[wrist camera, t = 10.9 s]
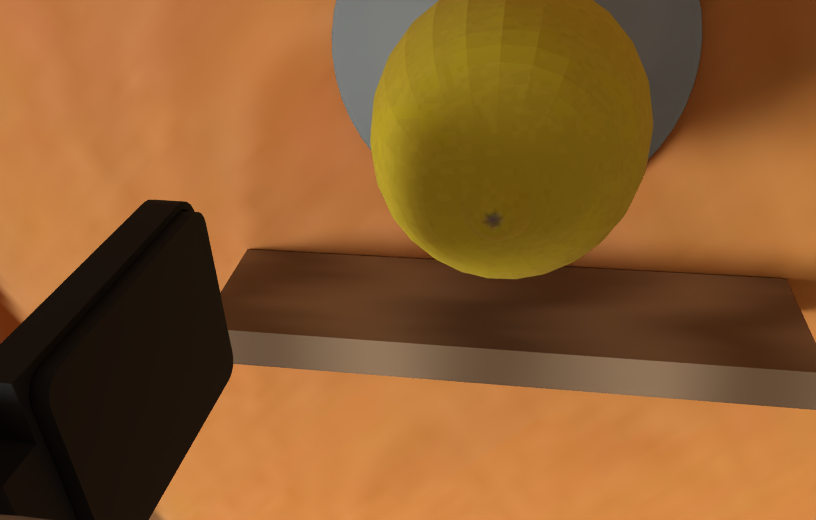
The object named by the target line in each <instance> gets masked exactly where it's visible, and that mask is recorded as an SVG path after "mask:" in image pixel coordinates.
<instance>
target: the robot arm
mask: <svg viewBox="0 0 816 520" xmlns="http://www.w3.org/2000/svg"><path fill="white" fill-rule="evenodd" d="M232 369H233V352H232V347H231V342H230V338H229V333H228V328H227V323H226V318H225V313H224V309H223V304H222V299H221V294H220V289H219V285H218V280H217V275H216V270H215V265H214V261H213V256H212V251H211V246H210V241H209V236H208V232H207V227H206V222H205V219H204V217H203V215H202V214H201V213H199V212H194V209H193V208H192V206H191V205H190V204H189V203H188V202H182V201H166V200H147V201H146V202H144V203H143V204H142V205H141V206H140V207H139V208H138V209H137V210H136V211H135V212H134V213H133V214H132V215H131V216H130V217H129V218H128V219H127V220H126V221H125V222H124V223H123V224H122V225H121V226H120V227H119V228H118V229H117V230H116V231H115V232H114V233H113V234H112V235H111V236H110V237H109V238H108V239H107V240H106V241H104V242H103V243H102V244H101V245H100V246H99V247H98V248H97V249H96V250H95V251H94V252H93V253H92V254H91V255H90V256H89V257H88V258H87V259H86V260H85V261H84V262H83V263H82V264H81V265H80V266H79V267H78V268H77V269H76V270H75V271H74V272H73V273H72V274H71V275H70V276H69V277H68V278H67V279H66V280H65V281H64V282H63V283H62V284H61V285H60V286H59V287H58V288H57V289H56V290H55V291H54V292H53V293H52V294H51V295H50V296H49V297H48V298H47V299H46V300H45V301H44V302H43V303H42V304H41V305H40V306H39V307H38V308H37V309H36V310H35V311H34V312H33V313H32V314H31V315H30V316H29V317H27V318H26V319H25V320H24V321H23V322H22V323H21V324H20V325H19V326H18V327H17V328H16V329H15V330H14V331H13V332H12V333H11V334H10V335H9V336H8V337H7V338H6V339H5V340H4V341H3V342H2V343H1V344H0V520H149V518H150V516H151V515H152V513H153V511H154V509H155V508H156V506H157V504H158V502H159V501H160V499H161V497H162V495H163V494H164V492H165V490H166V488H167V487H168V485H169V483H170V481H171V480H172V478H173V476H174V475H175V473H176V471H177V469H178V468H179V466H180V464H181V462H182V461H183V459H184V457H185V455H186V454H187V452H188V450H189V448H190V447H191V445H192V443H193V441H194V440H195V438H196V436H197V434H198V433H199V431H200V429H201V428H202V426H203V424H204V422H205V421H206V419H207V417H208V415H209V414H210V412H211V410H212V408H213V407H214V405H215V403H216V401H217V400H218V398H219V396H220V394H221V393H222V391H223V389H224V387H225V386H226V384H227V382H228V381H229V378H230V376H231V373H232Z"/></svg>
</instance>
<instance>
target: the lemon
mask: <svg viewBox="0 0 816 520" xmlns="http://www.w3.org/2000/svg"><path fill="white" fill-rule="evenodd" d="M652 132H653V115H652V105H651V96H650V86H649V80H648V78H647V75H646V72H645V70H644V67H643V65H642V63H641V60H640V58H639V55H638V53H637V50H636V48H635V45H634V43H633V42H632V40H631V39H630V38H629V36H628V35H627V34H626V33H625V31H624V30H623V29H622V28H621V26H620V25H619V24H618V23H617V21H616V20H615V19H614V18H613V16H612V15H611V14H610V12H609V11H607V10H606V9H604V8H603V7H602V6H600V5H599V4H598V3H596V2H595V1H593V0H439V1H437V2H436V3H435V4H434V5H433V6H431V7H430V8H429V9H428V10H427V11H425V12H424V13H423V14H422V15H420V16H419V17H418V18H417V19H416V20H415V21H413V23H412V24H411V26H410V27H409V28H408V30H407V31H406V32H405V34H404V35H403V37H402V38H401V39H400V41H399V42H398V44H397V45H396V46H395V48H394V49H393V51H392V52H391V53H390V55H389V57H388V60H387V62H386V65H385V68H384V70H383V73H382V76H381V78H380V81H379V84H378V86H377V89H376V92H375V96H374V100H373V112H372V124H371V136H370V143H371V151H372V157H373V163H374V168H375V174H376V179H377V184H378V186H379V189H380V191H381V193H382V195H383V197H384V200H385V202H386V204H387V206H388V208H389V211H390V213H391V215H392V217H393V218H394V219H395V221H396V222H397V223H398V224H399V226H400V227H401V228H402V229H403V231H404V232H405V233H406V234H407V236H408V237H409V238H410V239H411V240H412V241H413V242H414V243H416V244H417V245H418V246H419V247H421V248H422V249H423V250H425V251H426V252H427V253H428V254H430V255H431V256H432V257H433V258H435V259H436V260H438V261H440V262H442V263H444V264H446V265H448V266H450V267H452V268H454V269H456V270H459V271H461V272H464V273H468V274H472V275H477V276H481V277H485V278H495V279H520V278H525V277H531V276H537V275H543V274H546V273H549V272H551V271H553V270H556V269H558V268H561V267H563V266H565V265H568V264H570V263H573V262H575V261H576V260H578V259H579V258H581V257H582V256H583V255H585V254H586V253H587V252H589V251H590V250H592V249H593V248H594V247H596V246H597V245H599V244H600V243H601V242H602V241H603V240H604V239H605V237H606V236H607V235H608V234H609V233H610V232H611V230H612V229H613V228H614V227H615V226H616V225H617V223H618V222H619V221H620V220H621V219H622V218H623V216H624V215H625V214H626V212H627V210H628V208H629V206H630V204H631V202H632V200H633V198H634V196H635V194H636V191H637V189H638V187H639V185H640V183H641V181H642V179H643V176H644V174H645V170H646V166H647V161H648V155H649V149H650V144H651V138H652Z"/></svg>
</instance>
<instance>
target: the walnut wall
mask: <svg viewBox="0 0 816 520" xmlns="http://www.w3.org/2000/svg"><path fill="white" fill-rule="evenodd" d="M220 294H221V299H222V304H223V309H224V313H225V318H226V323H227V328H228V333H229V338H230V342H231V347H232V352H233V364H243V365H256V366H269V367H281V368H294V369H306V370H319V371H332V372H344V373H357V374H370V375H382V376H395V377H407V378H420V379H433V380H445V381H458V382H471V383H483V384H496V385H508V386H521V387H534V388H546V389H559V390H572V391H584V392H597V393H609V394H622V395H635V396H647V397H660V398H673V399H685V400H698V401H711V402H723V403H736V404H748V405H761V406H774V407H786V408H799V409H812V410H816V343H815V341H814V338H813V336H812V334H811V332H810V330H809V327H808V325H807V323H806V321H805V319H804V317H803V314H802V312H801V310H800V308H799V306H798V303H797V301H796V299H795V297H794V295H793V293H792V290H791V288H790V286H789V284H788V282H787V279H781V278H763V277H744V276H726V275H708V274H689V273H671V272H653V271H635V270H616V269H598V268H580V267H561V268H558V269H556V270H553V271H551V272H549V273H546V274H543V275H537V276H531V277H525V278H520V279H495V278H485V277H481V276H477V275H472V274H468V273H464V272H461V271H459V270H456V269H454V268H452V267H450V266H448V265H446V264H444V263H442V262H440V261H438V260H433V259H415V258H397V257H379V256H360V255H342V254H324V253H305V252H287V251H269V250H251V249H247V251H246V253H245V254H244V256H243V257H242V259H241V261H240V262H239V264H238V266H237V267H236V269H235V270H234V272H233V274H232V275H231V277H230V278H229V280H228V282H227V283H226V285H225V286H224V288H223V290H222V291H221V293H220Z"/></svg>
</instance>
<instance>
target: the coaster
mask: <svg viewBox="0 0 816 520" xmlns="http://www.w3.org/2000/svg"><path fill="white" fill-rule="evenodd" d="M437 1H439V0H336V4H335V9H334V17H333V27H332V55H333V62H334V69H335V75H336V80H337V83H338V87H339V90H340V94H341V97H342V100H343V103H344V105H345V107H346V110H347V112H348V114H349V116H350V119H351V121H352V122H353V124H354V126H355V128H356V129H357V131H358V133H359V134H360V136H361V138H362V139H363V140H364V142H365V143H366V144H367V146H368V147H369V148H370V150H371V143H370V136H371V124H372V112H373V100H374V96H375V92H376V89H377V86H378V84H379V81H380V78H381V76H382V73H383V70H384V68H385V65H386V62H387V60H388V57H389V55H390V53H391V52H392V51H393V49H394V48H395V46H396V45H397V44H398V42H399V41H400V39H401V38H402V37H403V35H404V34H405V32H406V31H407V30H408V28H409V27H410V26H411V24H412V23H413V21H415V20H416V19H417V18H418V17H419V16H420V15H422V14H423V13H424V12H425V11H427V10H428V9H429V8H430V7H431V6H433V5H434V4H435V3H436V2H437ZM593 1H595V2H596V3H598V4H599V5H600V6H602V7H603V8H604V9H606V10H607V11H609V12H610V14H611V15H612V16H613V18H614V19H615V20H616V21H617V23H618V24H619V25H620V26H621V28H622V29H623V30H624V31H625V33H626V34H627V35H628V36H629V38H630V39H631V40H632V42H633V43H634V45H635V48H636V50H637V53H638V55H639V58H640V60H641V63H642V65H643V67H644V70H645V72H646V75H647V78H648V80H649V86H650V96H651V105H652V115H653V132H652V138H651V144H650V149H649V155H648V159H649V158H650V157H651V156H652V155H653V154H654V153H655V152H656V151H657V149H658V148H659V147H660V146H661V145H662V143H663V142H664V141H665V139H666V138H667V136H668V135H669V134H670V132H671V131H672V130H673V128H674V126H675V125H676V123H677V121H678V119H679V117H680V115H681V114H682V112H683V110H684V108H685V106H686V103H687V101H688V98H689V96H690V93H691V91H692V88H693V86H694V82H695V78H696V74H697V70H698V66H699V62H700V54H701V44H702V11H701V5H700V0H593Z"/></svg>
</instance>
